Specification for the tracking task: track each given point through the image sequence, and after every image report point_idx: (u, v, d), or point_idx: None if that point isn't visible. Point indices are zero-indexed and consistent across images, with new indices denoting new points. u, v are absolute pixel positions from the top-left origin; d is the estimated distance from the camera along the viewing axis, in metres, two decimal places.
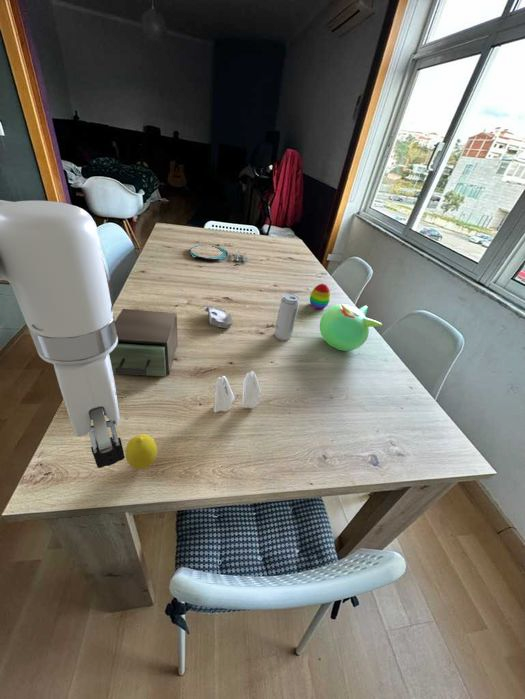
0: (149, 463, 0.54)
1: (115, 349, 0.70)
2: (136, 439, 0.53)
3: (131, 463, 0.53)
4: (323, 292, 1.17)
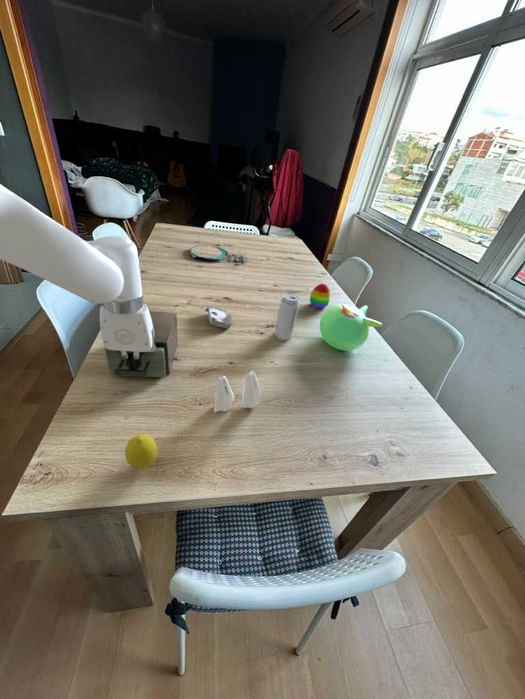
0: (149, 463, 0.54)
1: (114, 350, 0.70)
2: (136, 439, 0.53)
3: (131, 463, 0.53)
4: (323, 292, 1.17)
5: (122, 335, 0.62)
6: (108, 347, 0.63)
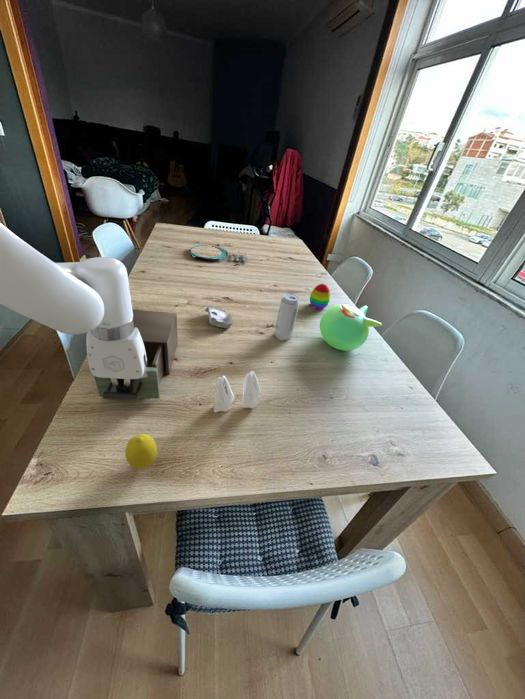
0: (149, 463, 0.54)
1: None
2: (136, 439, 0.53)
3: (131, 463, 0.53)
4: (323, 292, 1.17)
5: (111, 362, 0.57)
6: (96, 374, 0.58)
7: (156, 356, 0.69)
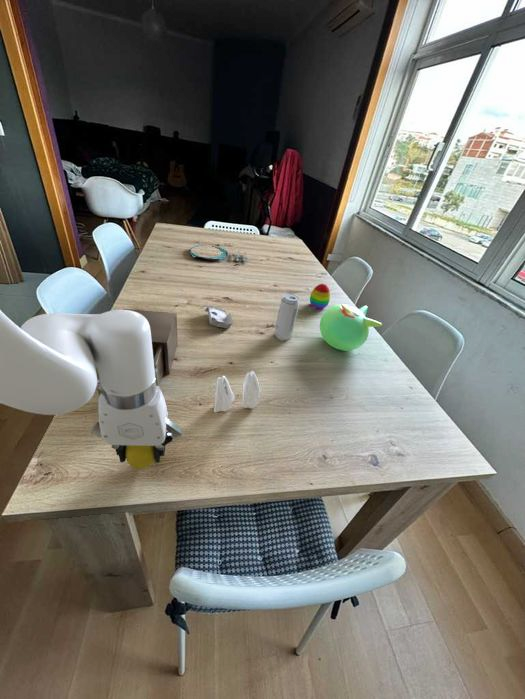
0: (149, 463, 0.54)
1: None
2: None
3: (131, 463, 0.53)
4: (323, 292, 1.17)
5: (127, 429, 0.47)
6: (109, 442, 0.48)
7: (156, 356, 0.69)
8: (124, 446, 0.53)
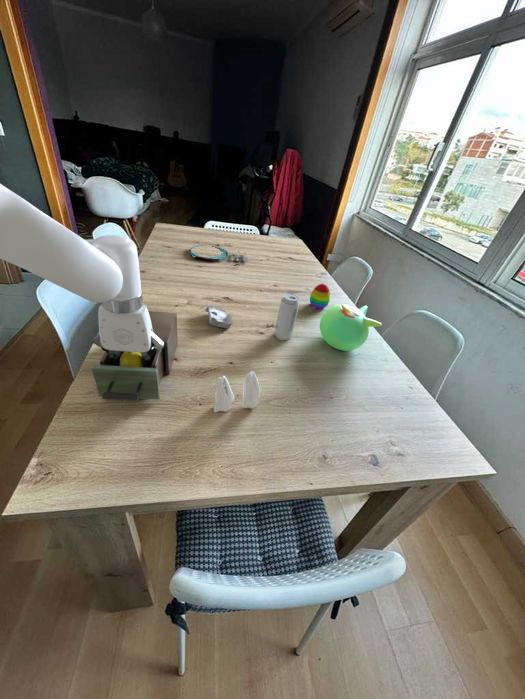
0: None
1: (103, 372, 0.64)
2: None
3: None
4: (323, 292, 1.17)
5: (120, 335, 0.61)
6: (106, 347, 0.63)
7: (156, 357, 0.69)
8: (118, 357, 0.68)
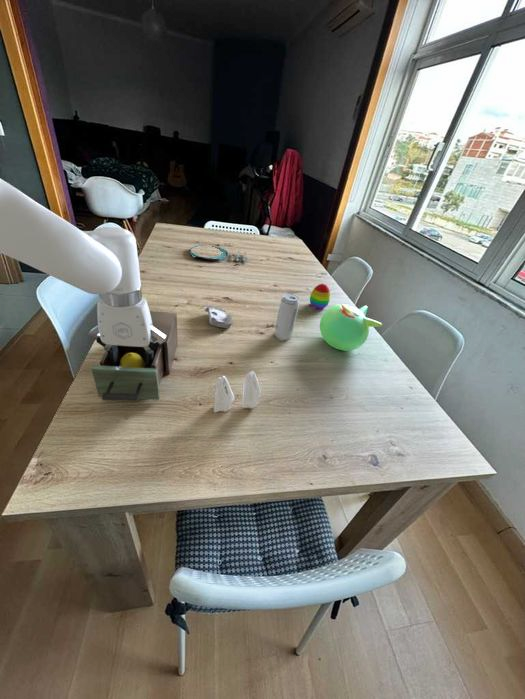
0: None
1: (102, 372, 0.63)
2: (128, 354, 0.68)
3: None
4: (323, 292, 1.17)
5: (120, 329, 0.61)
6: (105, 341, 0.62)
7: (156, 357, 0.69)
8: (114, 351, 0.67)
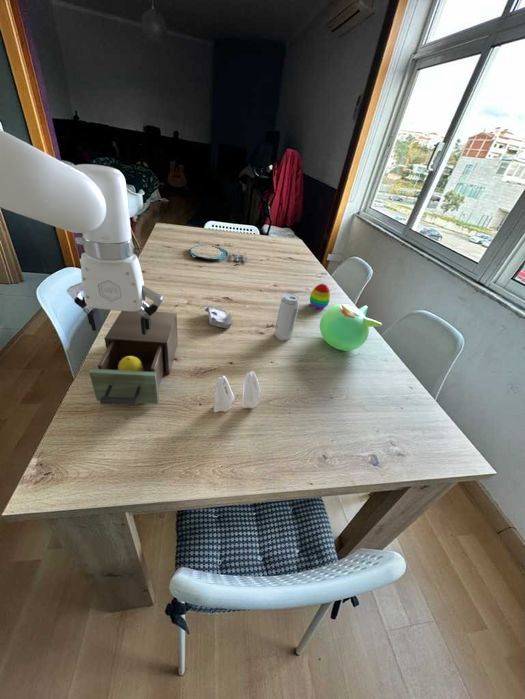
0: None
1: (101, 376, 0.63)
2: (126, 357, 0.67)
3: None
4: (323, 292, 1.17)
5: (107, 289, 0.53)
6: (91, 304, 0.55)
7: (155, 360, 0.68)
8: (95, 314, 0.59)
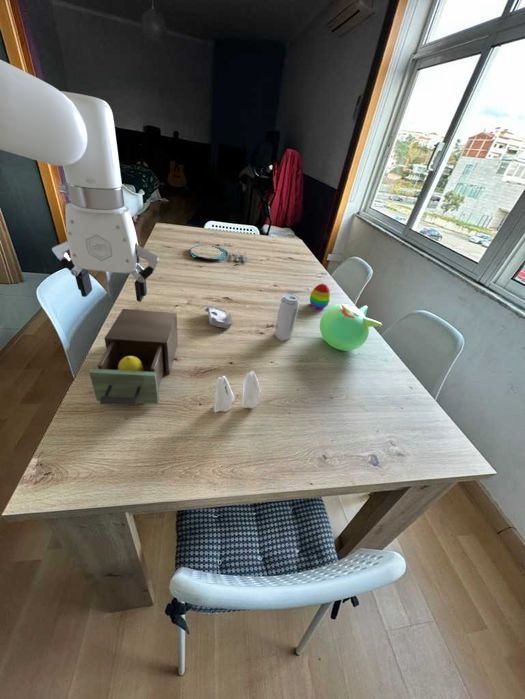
0: None
1: (101, 376, 0.63)
2: (126, 357, 0.67)
3: None
4: (323, 292, 1.17)
5: (96, 245, 0.47)
6: (78, 264, 0.49)
7: (155, 360, 0.68)
8: (85, 278, 0.53)
